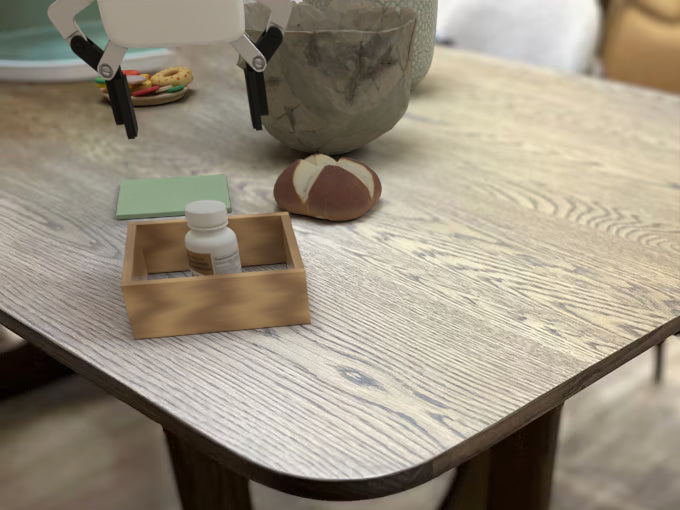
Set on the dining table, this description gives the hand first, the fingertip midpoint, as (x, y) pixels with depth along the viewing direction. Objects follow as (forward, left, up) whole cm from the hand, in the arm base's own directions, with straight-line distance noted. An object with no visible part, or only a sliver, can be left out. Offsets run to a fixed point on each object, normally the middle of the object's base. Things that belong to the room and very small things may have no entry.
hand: (196, 130), depth 67 cm
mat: (-4, +28, -14) cm, 31 cm away
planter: (+27, +75, -14) cm, 81 cm away
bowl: (+16, +43, -14) cm, 48 cm away
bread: (+13, +22, -14) cm, 29 cm away
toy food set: (-8, +76, -14) cm, 78 cm away
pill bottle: (0, 0, -14) cm, 14 cm away
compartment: (0, 0, -14) cm, 14 cm away
